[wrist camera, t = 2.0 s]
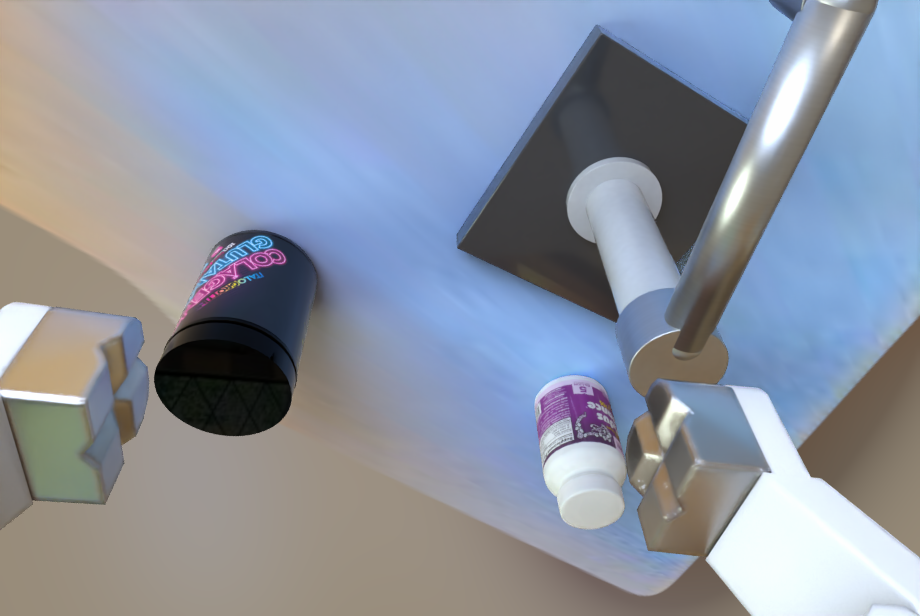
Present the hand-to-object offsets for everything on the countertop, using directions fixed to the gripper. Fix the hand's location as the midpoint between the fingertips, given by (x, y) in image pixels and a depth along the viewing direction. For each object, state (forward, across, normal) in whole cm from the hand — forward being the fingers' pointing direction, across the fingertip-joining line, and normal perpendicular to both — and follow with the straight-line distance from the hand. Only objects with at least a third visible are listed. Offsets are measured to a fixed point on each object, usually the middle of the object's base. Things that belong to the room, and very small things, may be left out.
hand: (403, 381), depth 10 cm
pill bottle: (+29, -14, +28) cm, 43 cm away
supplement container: (+29, +7, +20) cm, 36 cm away
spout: (+18, -12, +4) cm, 22 cm away
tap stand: (+29, -12, +11) cm, 33 cm away
